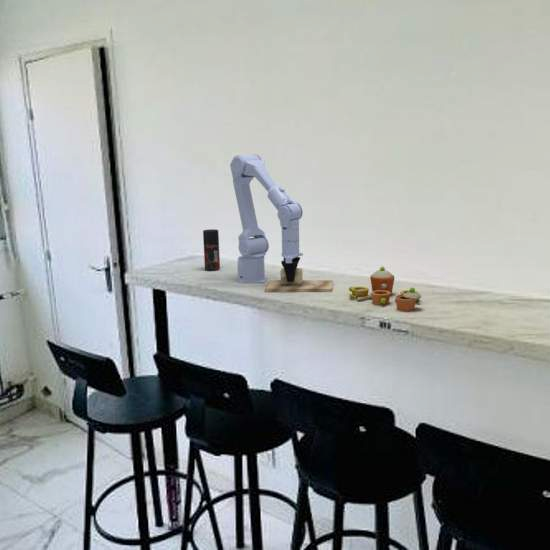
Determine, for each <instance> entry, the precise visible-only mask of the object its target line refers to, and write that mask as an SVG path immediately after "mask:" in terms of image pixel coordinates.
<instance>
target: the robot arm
mask: <svg viewBox="0 0 550 550" xmlns="http://www.w3.org/2000/svg"><path fill="white" fill-rule="evenodd" d="M229 167H230V171H231V177H232V184H233V188H234V193H235V197H236V201H237V202H236V203H237V207H238V212H239V217H240V223H241V227H242V231H241V232H240V234H238V236H237V237H238V251H239V253H240V255H241V256H238V258H237V283H238V284H240V283H241V284H264V283H266V281H267V279H268V276H265V275H266V274H265V271H266V270H265V256H266V255H267V252H268V251H269V248H270V247H269V246H270V244H269V241H268V239H267V237H266V234H265V232H264V230H262V229H261V228H260V227H259V226H258V219H257V215H256V210H255V205H254V201H253V200H254V199H253V196H252V190H251V185H250V184H251V182H252V180H254V178H255V179H256V180H257V181H258V182H259V184H261V186H262V187H263V188H264V190H265V191H267V198H268V199H269V201H270V203H272V205H273V207H274V208H275V209H276V210H277V218H278V220H279V224H280V227H281V257H283V260H281V261H280V263H281V265H282V268H284V270H285V274H286V279H287V282H294V278H295V271H296V268H298V265H299V262H300V260H301V257H302V256H303V255H304V252H300V220H301V218H302V217H303V208H302V205H301V204H300V203H298V202H295V201H294V200H293V199H291V197H290V196H289V195H288V194H287V192H286V189H285V188H284V187H283V186H279V185H276V183H275V181H274V180H273V178H272V177H271V175H270V174H269V172H268V170H267V169H266V167H265V161H264V160H263V159H262V157H261V156H260V155H259V154H249V155H248V154H247V155H239V154H238V155H235V156H234V157H233V158H232V160H231V161H230V164H229Z"/></svg>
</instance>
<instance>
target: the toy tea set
mask: <svg viewBox="0 0 550 550" xmlns="http://www.w3.org/2000/svg"><path fill="white" fill-rule="evenodd" d="M385 269H386V268H385V267H384V266H380V267H379V270H377V271H375V272H374V273H372V274H371V275H370V277H369V278H370V284H371V285H370V286H371V294H369V290H370V288H368V287H366V286H349V288H348V291H349V292H351V293H348V295H349V300H352V301H356V302H357V301H358V302H361V301H363V302H364V301H368V300H371V301H372V304H373V305H374V306H375V305H376V306H386V305H389V304H390V299H391V296H392V295H393V288H394V283H395V275H393V274H392V273H391V272H390V271H389V270H387V269H386V270H385ZM421 298H422V294H420V293H419V291H417V290H416V288H415V287H413V286H412V287H410V288H409V289H407V290H406V289H405V290H400V294H397V295H395V298H394V301H395V303H396V309H397V311H400V312H406V311H407V312H413V311H414V310H415V307H416V304H417V305H418V304H420V303H421ZM417 301H418V302H417Z"/></svg>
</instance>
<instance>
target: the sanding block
mask: <svg viewBox="0 0 550 550" xmlns="http://www.w3.org/2000/svg"><path fill="white" fill-rule="evenodd" d="M279 272H280V273H279V274H280V280H281V286H302V283H303V268H298V267H297V268H296V271H295V278H294V282H287V279H286V274H285V270H284V268H283V267H282V268H281V269H280V271H279Z"/></svg>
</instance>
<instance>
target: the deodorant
mask: <svg viewBox="0 0 550 550" xmlns="http://www.w3.org/2000/svg"><path fill="white" fill-rule="evenodd" d="M202 235H203V237H202V238H203V239H202V241H203V259H204V260H203V261H204V269H205V270H206V271H216V270H220V269H221V265H220V264H221V263H220V260H221V259H220V258H221V257H220V237H219V229H210V228H209V229H204V230H202Z"/></svg>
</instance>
